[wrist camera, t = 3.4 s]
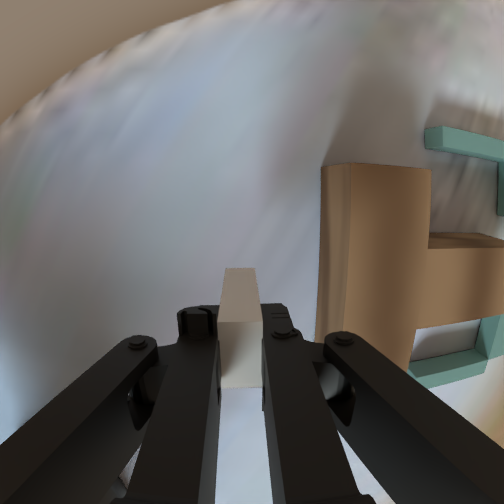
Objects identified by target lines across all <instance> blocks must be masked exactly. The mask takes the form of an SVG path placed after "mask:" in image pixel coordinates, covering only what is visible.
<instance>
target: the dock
mask: <svg viewBox="0 0 504 504" xmlns="http://www.w3.org/2000/svg"><path fill="white" fill-rule="evenodd" d="M425 149H431V150H438V151H444V152H450V153H456V154H461V155H467V156H472V157H477V158H482V159H487V160H492V161H496V162H498V165H499V182H498V210H497V215H500V216H504V141H502V140H499V139H495V138H491V137H488V136H484V135H480V134H476V133H472V132H468V131H464V130H459V129H455V128H451V127H446V126H439V127H434V128H430V129H425ZM501 355H504V314H501V315H496V316H491V317H486V318H482V320H481V325H480V329H479V333H478V337H477V340H476V344H475V348H474V349H470V350H466V351H462V352H457V353H453V354H449V355H444V356H439V357H434V358H430V359H424V360H419V361H414V362H409V365H408V370H407V374H409V375H410V376H411V377H413V378H414V379H415V380H416V381H418V382H419V383H420V384H421V385H423V386H424V387H425V388H427V389H428V388H432V387H436V386H440V385H444V384H448V383H452V382H455V381H459V380H462V379H466V378H469V377H472V376H476V375H479V374H482V373H484V371H485V368H486V365H487V362H488V360H489V359H492V358H495V357H498V356H501Z"/></svg>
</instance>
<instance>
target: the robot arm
mask: <svg viewBox="0 0 504 504" xmlns="http://www.w3.org/2000/svg"><path fill="white" fill-rule="evenodd" d="M177 320H178V330H179V337H178V340H177V343H175V344H172V345H167V346H161V347H157V343H156V340H155V339H154V338H152V337H149V336H142V335H137V336H136V335H135V336H132V337H129V338H126V339H124V340H123V341H121V342H120V343H119V344H117V345H116V346H115V347H114V348H113V349H112V350H110V351H109V352H108V353H107V354H106V355H104V356H103V357H102V358H101V359H100V360H98V361H97V362H96V363H95V364H94V365H93V366H91V367H90V368H89V369H88V370H87V371H85V372H84V373H83V374H82V375H81V376H80V377H78V378H77V379H76V380H75V381H74V382H73V383H71V384H70V385H69V386H68V387H67V388H66V389H64V390H63V391H62V392H61V393H60V394H59V395H57V396H56V397H55V398H54V399H53V400H52V401H50V402H49V403H48V404H47V405H46V406H45V407H43V408H42V409H41V410H40V411H39V412H38V413H36V414H35V415H34V416H33V417H32V418H31V419H30V420H28V421H27V422H26V423H25V424H24V425H23V426H21V427H20V428H19V429H18V430H17V431H16V432H15V433H13V434H12V435H11V436H10V437H9V438H8V439H7V440H5V441H4V442H3V443H2V444H1V445H0V504H215V489H216V471H217V455H218V439H219V424H220V409H221V388H262V411H264V417H265V427H266V438H267V448H268V458H269V468H270V478H271V488H272V498H273V504H376V502H375V501H374V499H373V498H372V497H371V496H370V495H369V494H366V495H362V494H361V493H360V492H359V490H358V488H357V485H356V482H355V479H354V476H353V474H352V471H351V468H350V465H349V462H348V459H347V457H346V454H345V451H344V448H343V445H342V443H341V440H340V437H339V434H338V431H339V433H340V434H341V435H342V437H343V438H344V439H345V441H346V442H347V443H348V444H349V446H350V447H351V448H352V450H353V451H354V452H355V453H356V455H357V456H358V457H359V459H360V460H361V461H362V462H363V464H364V465H365V466H366V467H367V469H368V470H369V471H370V472H371V474H372V475H373V476H374V477H375V479H376V480H377V481H378V482H379V484H380V485H381V486H382V487H383V489H384V490H385V491H386V492H387V494H388V495H389V496H390V497H391V499H392V500H393V501H394V502H395V503H396V504H504V449H503V448H502V447H500V446H499V445H498V444H497V443H495V442H494V441H493V440H492V439H490V438H489V437H488V436H486V435H485V434H484V433H483V432H481V431H480V430H479V429H478V428H476V427H475V426H474V425H472V424H471V423H470V422H469V421H467V420H466V419H465V418H464V417H462V416H461V415H460V414H458V413H457V412H456V411H455V410H453V409H452V408H451V407H450V406H448V405H447V404H446V403H444V402H443V401H442V400H441V399H439V398H438V397H437V396H435V395H434V394H433V393H432V392H430V391H429V390H428V389H427V388H425V387H424V386H423V385H421V384H420V383H419V382H418V381H416V380H415V379H414V378H413V377H411V376H410V375H409V374H407V373H406V372H405V371H404V370H402V369H401V368H400V367H399V366H397V365H396V364H395V363H393V362H392V361H391V360H390V359H388V358H387V357H386V356H384V355H383V354H382V353H381V352H379V351H378V350H377V349H376V348H374V347H373V346H372V345H370V344H369V343H368V342H367V341H365V340H364V339H363V338H362V337H360V336H358V335H357V334H355V333H351V332H349V331H345V332H344V331H339V332H332V333H329V334H328V335H326V336H325V339H324V343H316V342H310V341H306V340H304V339H303V336H302V334H301V332H300V331H299V330H297V329H295V328H294V326H293V323H292V321H291V318H290V315H289V312H288V309H287V307H285V306H284V305H282V304H281V303H271V304H260V299H259V293H258V286H257V280H256V274H255V268H226V270H225V276H224V282H223V288H222V295H221V301H220V305H200V306H195V307H188V308H184V309H182V310H180V311H179V312H178V313H177ZM128 393H129V395H128ZM337 430H338V431H337ZM141 443H142V445H141ZM140 445H141V448H140V451H139V454H138V457H137V460H136V463H135V467H134V470H133V473H132V476H131V479H130V483H129V486H128V489H127V491H126V488H125V486H124V484H123V483H122V481H121V480H120V479H119V477H118V476H119V475H120V473H121V472H122V470H123V469H124V467H125V466H126V465H127V463H128V462H129V460H130V459H131V458H132V456H133V455H134V453H135V452H136V451H137V449H138V448H139V446H140Z"/></svg>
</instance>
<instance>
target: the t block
mask: <svg viewBox="0 0 504 504" xmlns="http://www.w3.org/2000/svg"><path fill="white" fill-rule="evenodd" d="M430 209H431V170H429V169H421V168H411V167H401V166H390V165H378V164H364V163H345V164H338V165H331V166H325V167H321V218H320V253H319V277H318V296H317V312H316V327H315V340H314V342H316V343H324V339H325V336H326V335H328V334H329V333H332V332H339V331H344V332H345V331H349V332H351V333H355V334H357V335H358V336H360V337H362V338H363V339H364V340H365V341H367V342H368V343H369V344H370V345H372V346H373V347H374V348H376V349H377V350H378V351H379V352H381V353H382V354H383V355H384V356H386V357H387V358H388V359H390V360H391V361H392V362H393V363H395V364H396V365H397V366H399V367H400V368H401V369H402V370H404V371H405V372H406V373H407V370H408V365H409V361H410V357H411V352H412V348H413V343H414V338H415V333H416V329H421V328H428V327H435V326H441V325H447V324H453V323H459V322H465V321H470V320H476V319H481V318H486V317H491V316H496V315H501V314H504V240H501V239H498V238H494V237H491V236H487V235H484V234H480V233H429V226H430Z"/></svg>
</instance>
